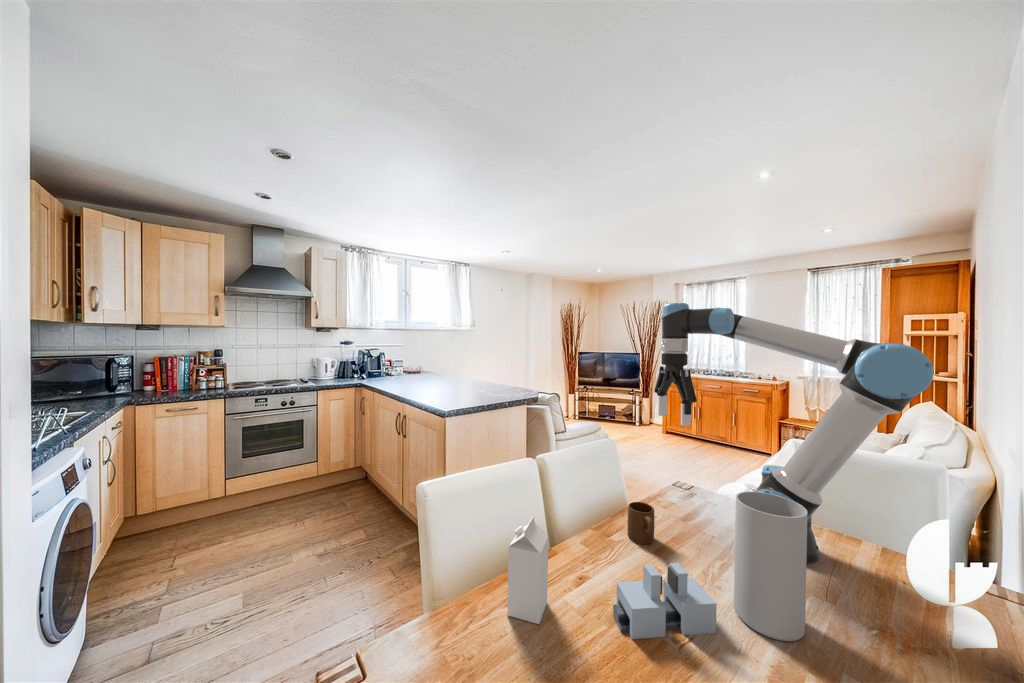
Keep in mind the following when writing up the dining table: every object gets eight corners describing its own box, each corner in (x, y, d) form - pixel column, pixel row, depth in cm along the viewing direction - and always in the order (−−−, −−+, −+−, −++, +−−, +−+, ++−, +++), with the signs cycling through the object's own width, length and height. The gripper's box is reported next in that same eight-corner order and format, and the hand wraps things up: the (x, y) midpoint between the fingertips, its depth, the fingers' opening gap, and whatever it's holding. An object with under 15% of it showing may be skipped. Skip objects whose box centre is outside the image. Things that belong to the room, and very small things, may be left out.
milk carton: (547, 602, 82) (548, 518, 82) (539, 625, 76) (540, 534, 76) (517, 594, 85) (518, 513, 85) (507, 616, 78) (508, 527, 78)
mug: (665, 554, 102) (666, 520, 102) (638, 554, 102) (639, 520, 102) (647, 531, 114) (648, 501, 114) (623, 531, 114) (624, 501, 114)
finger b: (692, 604, 83) (693, 556, 83) (715, 632, 75) (716, 579, 75) (661, 606, 82) (662, 557, 82) (681, 635, 74) (682, 580, 74)
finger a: (648, 607, 81) (649, 558, 81) (667, 636, 73) (668, 582, 73) (616, 609, 81) (617, 559, 81) (631, 639, 73) (632, 583, 73)
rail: (700, 611, 80) (701, 599, 80) (713, 626, 76) (713, 613, 76) (613, 616, 78) (613, 604, 78) (620, 632, 74) (621, 619, 74)
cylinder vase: (811, 653, 70) (813, 523, 70) (734, 627, 76) (737, 507, 76) (798, 611, 81) (800, 499, 81) (732, 592, 87) (734, 487, 87)
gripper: (644, 351, 127) (643, 412, 127) (686, 354, 102) (684, 429, 102) (665, 351, 128) (664, 412, 128) (711, 354, 103) (709, 429, 103)
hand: (673, 420), depth 115 cm, fingers open, 13 cm apart
